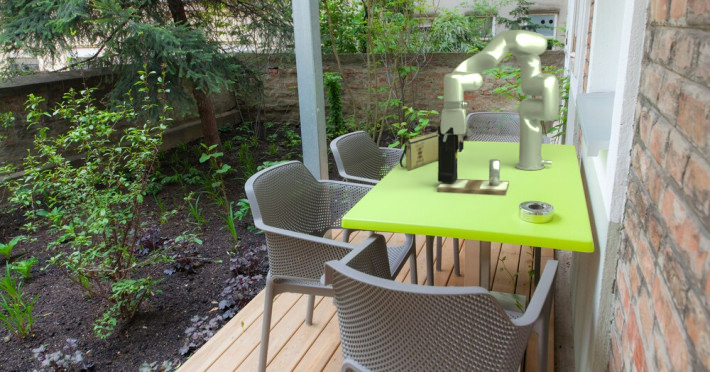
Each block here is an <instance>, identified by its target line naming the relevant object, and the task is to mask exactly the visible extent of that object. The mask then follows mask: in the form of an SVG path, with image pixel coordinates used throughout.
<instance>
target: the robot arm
mask: <svg viewBox="0 0 710 372" xmlns="http://www.w3.org/2000/svg"><path fill="white" fill-rule="evenodd" d="M547 48H548V40H547V38H546V36H545V35H544V34H543V33H539V32H534V31H531V30H527V29H509V30H503V31H499V33H497V34H496V35H495V37H493V38H492V39H491V41H489V43H488V44H486V46H485V47H484V48H483V49H482V50H481V51H479V52H478V53H475V54H474V55H472V56H470V57H469V58H467V59H465V60H463V61H462V62H461V63H459V64H458V65H457V66H456V67H455V68H454V69H453V70H452V72H451V73H446V74H445V75H444V76H443V108H442V110H441V115H440V116H441V117H440V120H441V126H440V125H439V126H440V129H441V133H442V134H444V138H443V142H445V152H447V142H446V139H447V135H452V134H445V133H446V132H447V131H448V130H449V129H450V127H453V131H454V135H459V138H460V142H459V151H458V152H459V153H462V152H463V150H464V143H465V140H467V139H468V138H469V137H470V136H472V135H473V132H472V129H470V127H469V126H468V116H467V115H468V113H467V109H466V108H465V107H467V106H468V102H465V100H464V99H465V98H464V95H465V93H464V92H474V91H475V92H476V91H478V90H479V89H480V88H482V86H483V82H484V79H483V76H482V75H481V74H480V73H481V72H485V71H489V70H491V69H494V68H495V67H497V66H498V65H499V63H500V62H502V60H503V59H504V58H505V57H506V56H507V55H508V54H509V53H510V54H512V55H513V56H514V57H515V58H516V59H517V60H518V63H519V66H520V87H521V88H520V89H521V92H522V93H523V94H524V95H526V96H536V97H537V98H536V97H527V98H524V99H522V100H521V101H520V103H519V104H518V108H517V110H518V117H519V146H518V147H519V151H518V162H517V163H515V165H514V166H515V169H518V170H524V171H538V170H543V169H544V168H545V165H549V166H550V165H552V159H551V160H550V159H543V158H542V145H543V144H542V143H543V141H542V140H543V126H542V124H541V122H540V121H544V122H551V121H552V122H553V121H554V120H556V118H557V117H558V115H559V113H560V112H559V111H560V86H559V85H560V84H559V80H558V77H556V75H555V74H553V73H548V72H547V73H546V72H545V73H544V72H542V62H541V58H540V55H542V54H543V53H545V51H546V50H547ZM539 96H540V97H541V98H540V97H539ZM442 126H443V127H442ZM435 132H436V133H435V134H436V135H437V136H439V134H438V129H437V130H436V131H435ZM439 137H440V138H441V139H442V135H440V136H439Z"/></svg>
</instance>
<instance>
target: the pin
mask: <svg viewBox="0 0 710 372" xmlns="http://www.w3.org/2000/svg"><path fill="white" fill-rule="evenodd" d="M488 161H489V166H488V169H489V171H488V180H489V186H499V181H501V180H500V176H501V175H500V172H501V171H500V170H501V168H500V167H501V159H498V158H495V159H493V158H492V159H489V160H488Z"/></svg>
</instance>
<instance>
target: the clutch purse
mask: <svg viewBox="0 0 710 372" xmlns="http://www.w3.org/2000/svg"><path fill="white" fill-rule="evenodd" d="M435 133H436V131H435V132H431V133H428V134H424V135H420V136H416V137H413V138H410V139H406V140H405V143H404V149H403V151H402V153H401V156H400V158H399V165H400V167H401V168H404V165H403V163H402V162H403V158H404V156H405V168H406V170H407V171H412V170H414V169H417V168H420V167H423V166H425V165H428V164H431V163H434V162H436V161H437V162H438V136H437V135H436V134H435Z"/></svg>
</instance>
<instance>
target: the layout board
mask: <svg viewBox="0 0 710 372" xmlns="http://www.w3.org/2000/svg"><path fill="white" fill-rule="evenodd" d="M509 183H510V181H509V180H499V186H489V179H470V178H469V179H467V178H466V179H465V178H457V181H455V182H453V183H448V182H440V184H439V185H438V186H437V193H448V194H449V193H450V194H453V193H454V194H471V195H493V196H507V192H508V188H509Z"/></svg>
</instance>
